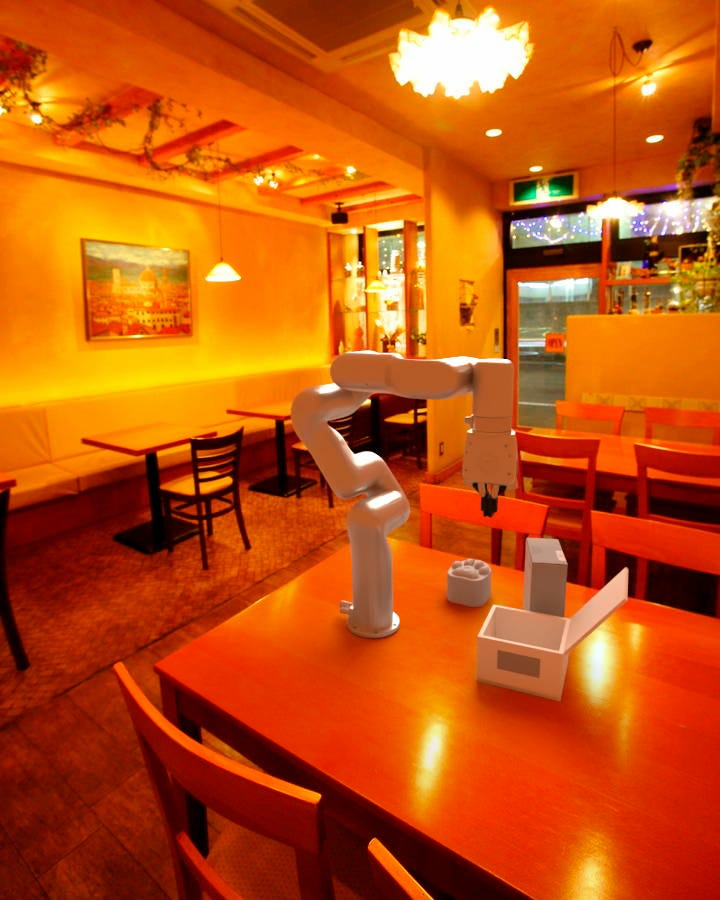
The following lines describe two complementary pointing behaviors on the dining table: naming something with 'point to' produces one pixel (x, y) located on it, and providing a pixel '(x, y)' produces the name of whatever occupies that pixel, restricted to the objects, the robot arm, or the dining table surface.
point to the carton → (523, 651)
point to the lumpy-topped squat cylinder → (469, 583)
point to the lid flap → (597, 610)
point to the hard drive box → (545, 577)
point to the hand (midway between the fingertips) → (489, 514)
